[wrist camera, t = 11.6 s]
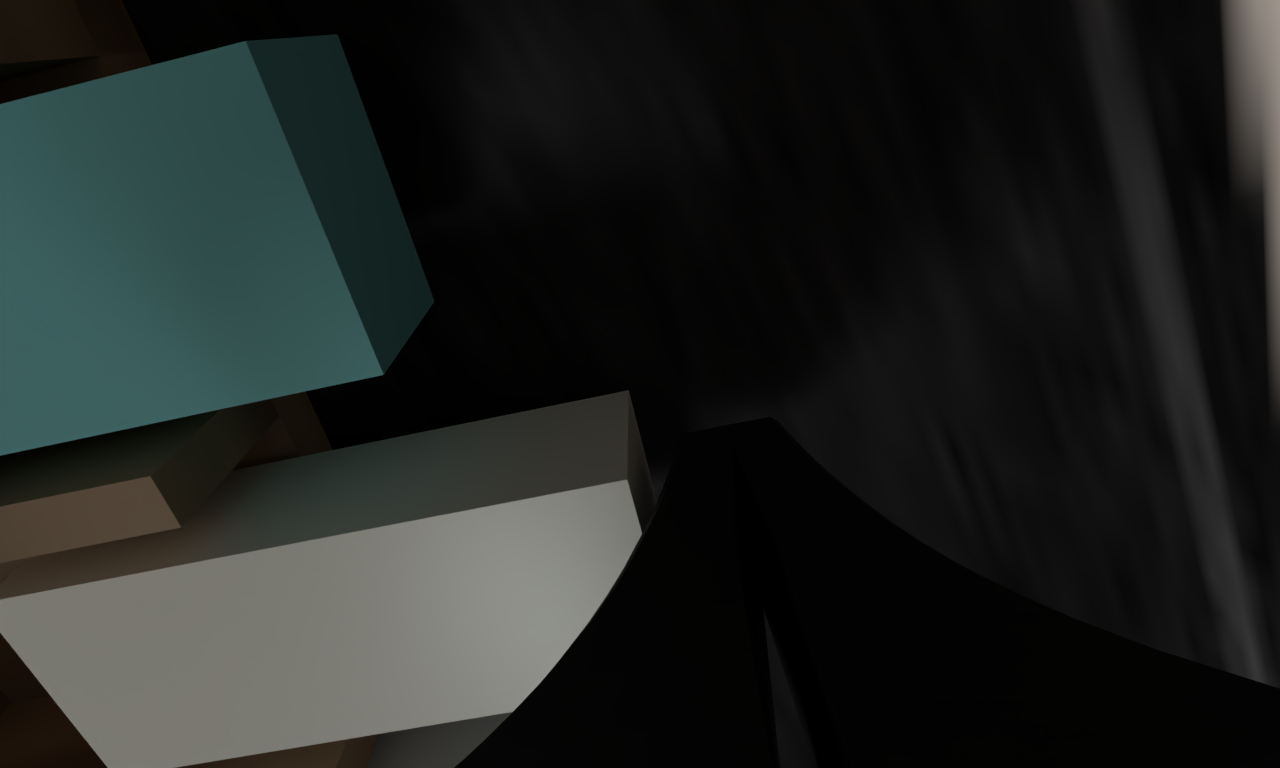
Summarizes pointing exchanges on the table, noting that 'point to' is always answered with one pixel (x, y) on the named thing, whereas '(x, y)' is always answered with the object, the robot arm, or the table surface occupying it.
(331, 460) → the off-white rectangular box
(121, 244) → the teal flat slab
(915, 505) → the table surface
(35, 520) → the walnut key block
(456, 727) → the light grey rectangular block
